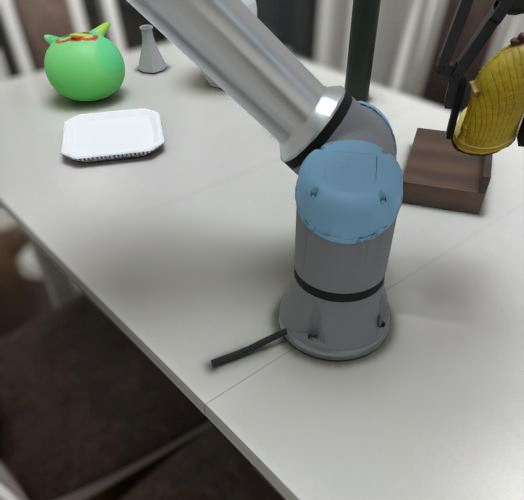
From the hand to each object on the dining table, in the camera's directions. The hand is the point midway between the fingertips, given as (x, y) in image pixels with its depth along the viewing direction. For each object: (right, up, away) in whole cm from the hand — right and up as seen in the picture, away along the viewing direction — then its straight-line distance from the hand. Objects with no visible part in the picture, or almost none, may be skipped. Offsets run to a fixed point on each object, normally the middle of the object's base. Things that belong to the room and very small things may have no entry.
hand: (484, 137), depth 66 cm
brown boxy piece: (+7, +6, +35) cm, 36 cm away
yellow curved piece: (0, -1, +2) cm, 2 cm away
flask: (-57, +49, +75) cm, 106 cm away
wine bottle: (-5, +33, +60) cm, 69 cm away
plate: (-59, +18, +47) cm, 78 cm away
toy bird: (-69, +35, +63) cm, 100 cm away
